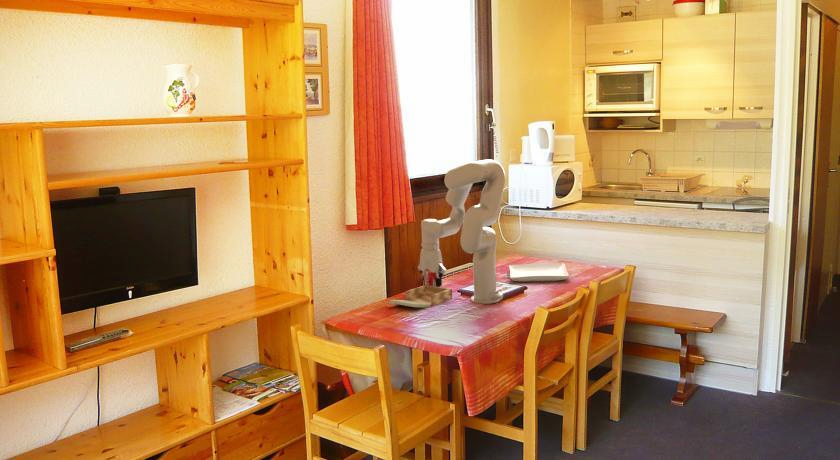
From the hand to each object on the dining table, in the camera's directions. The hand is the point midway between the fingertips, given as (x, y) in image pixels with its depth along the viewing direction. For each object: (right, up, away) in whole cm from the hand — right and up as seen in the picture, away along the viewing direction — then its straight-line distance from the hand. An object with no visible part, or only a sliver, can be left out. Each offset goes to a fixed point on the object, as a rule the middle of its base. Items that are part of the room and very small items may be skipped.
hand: (432, 285), depth 347 cm
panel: (-7, -6, -21) cm, 23 cm away
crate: (-2, -6, -16) cm, 17 cm away
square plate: (+51, +2, +21) cm, 55 cm away
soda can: (0, -3, +1) cm, 3 cm away
